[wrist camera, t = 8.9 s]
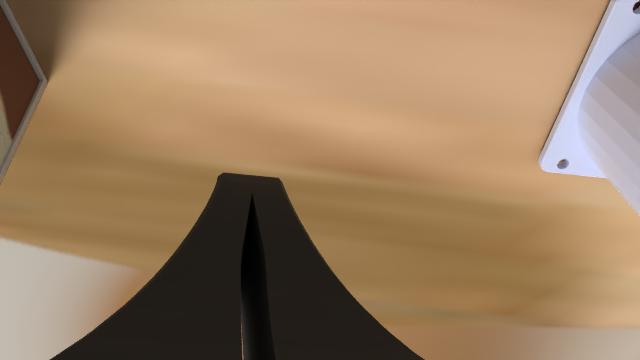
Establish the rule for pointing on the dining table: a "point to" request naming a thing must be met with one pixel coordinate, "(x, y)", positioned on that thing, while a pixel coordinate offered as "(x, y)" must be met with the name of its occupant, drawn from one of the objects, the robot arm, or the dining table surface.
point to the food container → (16, 86)
